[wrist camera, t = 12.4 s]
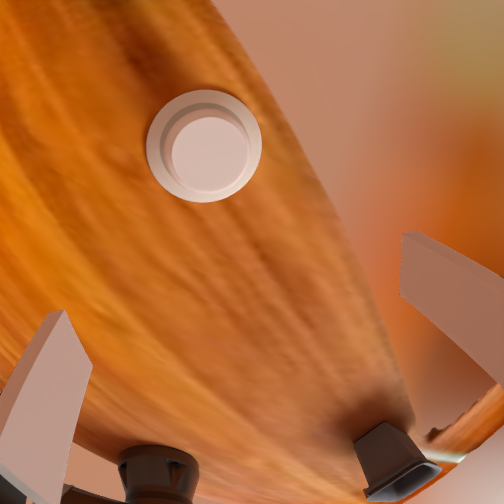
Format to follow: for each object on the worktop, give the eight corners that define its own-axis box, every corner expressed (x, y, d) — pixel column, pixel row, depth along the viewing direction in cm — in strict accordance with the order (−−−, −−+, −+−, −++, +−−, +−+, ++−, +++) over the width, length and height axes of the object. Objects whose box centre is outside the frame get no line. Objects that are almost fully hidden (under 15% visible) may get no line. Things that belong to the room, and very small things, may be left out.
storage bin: (419, 430, 59) (446, 470, 46) (369, 466, 61) (391, 507, 48) (389, 408, 51) (423, 460, 38) (328, 452, 53) (351, 506, 40)
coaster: (159, 211, 30) (158, 212, 29) (138, 103, 26) (137, 102, 25) (267, 190, 31) (268, 191, 31) (252, 83, 27) (253, 82, 26)
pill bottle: (237, 178, 30) (261, 202, 19) (173, 182, 29) (162, 209, 18) (236, 114, 27) (260, 103, 17) (170, 117, 26) (156, 107, 16)
